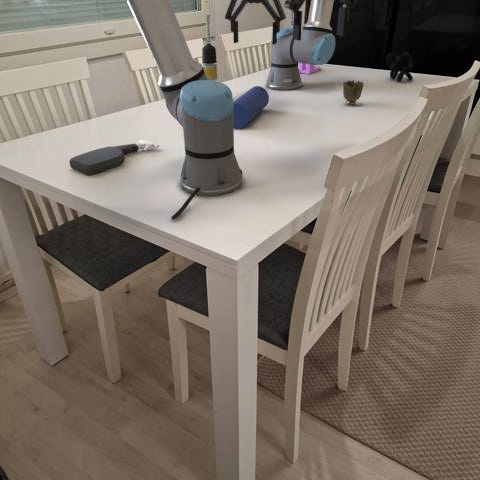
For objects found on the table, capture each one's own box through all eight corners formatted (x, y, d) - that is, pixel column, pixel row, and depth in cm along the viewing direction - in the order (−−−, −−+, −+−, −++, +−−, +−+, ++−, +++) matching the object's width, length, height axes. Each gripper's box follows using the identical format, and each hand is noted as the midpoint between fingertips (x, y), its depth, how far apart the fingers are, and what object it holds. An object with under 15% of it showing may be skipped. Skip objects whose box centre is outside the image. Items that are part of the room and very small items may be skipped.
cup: (338, 105, 167) (340, 83, 162) (344, 100, 172) (346, 79, 168) (358, 107, 164) (360, 85, 159) (363, 103, 169) (366, 81, 165)
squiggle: (400, 92, 202) (376, 71, 205) (417, 76, 202) (392, 56, 205) (405, 81, 191) (380, 59, 194) (423, 64, 191) (397, 42, 194)
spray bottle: (67, 168, 120) (139, 144, 136) (91, 178, 114) (163, 151, 130) (65, 157, 118) (137, 134, 134) (89, 167, 112) (162, 142, 128)
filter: (220, 99, 177) (217, 15, 161) (206, 100, 176) (202, 16, 160) (215, 96, 182) (212, 14, 166) (202, 97, 180) (197, 14, 164)
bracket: (309, 74, 214) (310, 58, 210) (299, 72, 217) (300, 57, 213) (322, 69, 223) (323, 54, 219) (312, 68, 225) (313, 53, 222)
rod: (247, 130, 145) (247, 104, 141) (224, 127, 147) (223, 102, 143) (268, 109, 164) (269, 86, 160) (247, 108, 167) (247, 85, 162)
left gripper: (359, -61, 111) (349, 32, 123) (271, -61, 102) (269, 39, 114) (379, -63, 106) (367, 35, 117) (288, -63, 97) (284, 43, 108)
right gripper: (296, -32, 138) (293, 42, 149) (221, -31, 145) (224, 40, 157) (290, -31, 132) (288, 46, 143) (213, -30, 139) (216, 43, 151)
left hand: (319, 37), depth 115 cm, fingers open, 13 cm apart
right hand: (255, 43), depth 150 cm, fingers open, 13 cm apart
